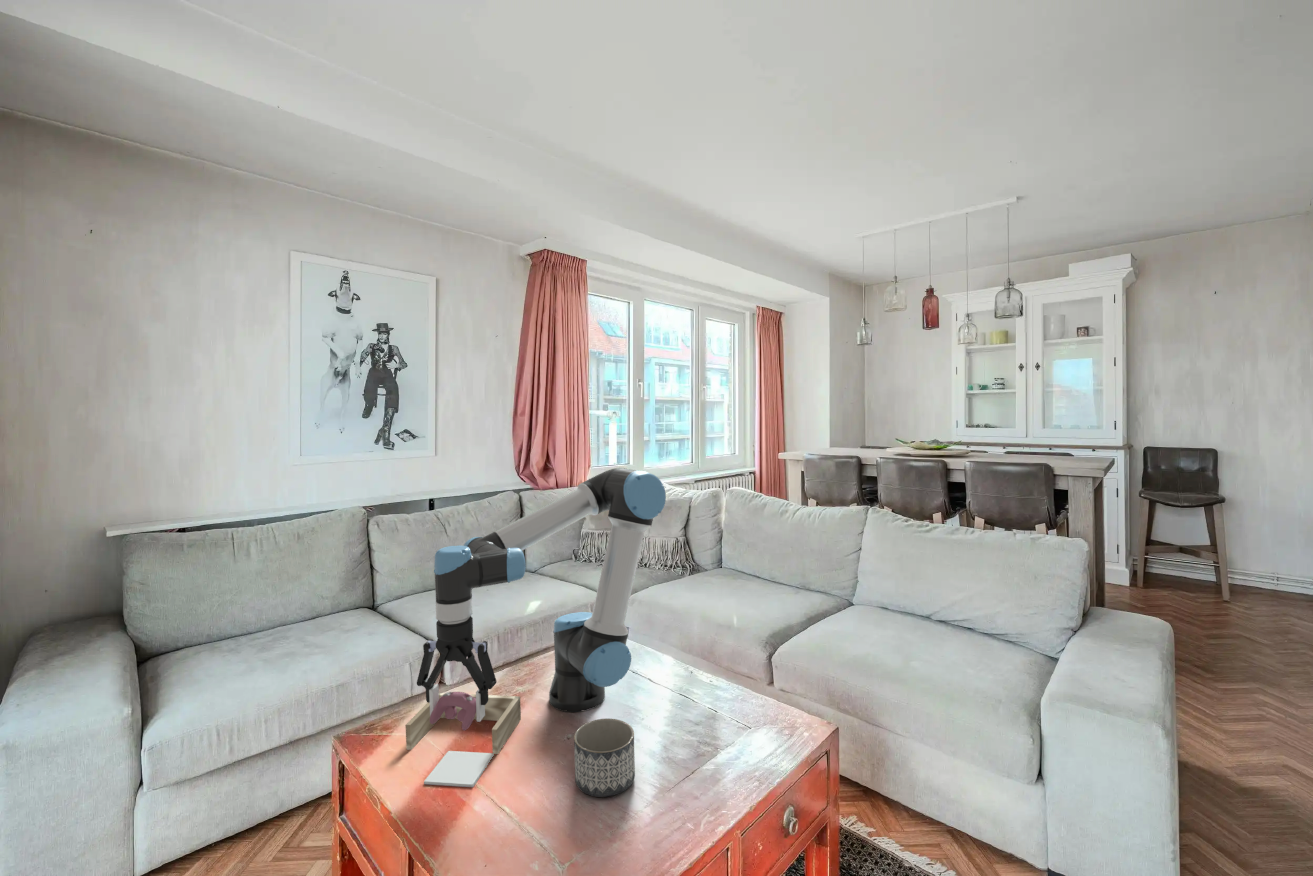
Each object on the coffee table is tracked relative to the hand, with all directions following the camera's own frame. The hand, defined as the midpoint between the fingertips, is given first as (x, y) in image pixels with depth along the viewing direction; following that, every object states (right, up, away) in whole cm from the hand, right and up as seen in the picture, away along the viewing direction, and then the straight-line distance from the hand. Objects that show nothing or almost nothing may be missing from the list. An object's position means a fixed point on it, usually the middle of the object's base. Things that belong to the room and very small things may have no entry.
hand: (457, 717), depth 128 cm
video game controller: (0, -1, -1) cm, 1 cm away
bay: (-3, -11, +15) cm, 19 cm away
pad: (0, -12, +1) cm, 12 cm away
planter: (+33, -12, -4) cm, 35 cm away
